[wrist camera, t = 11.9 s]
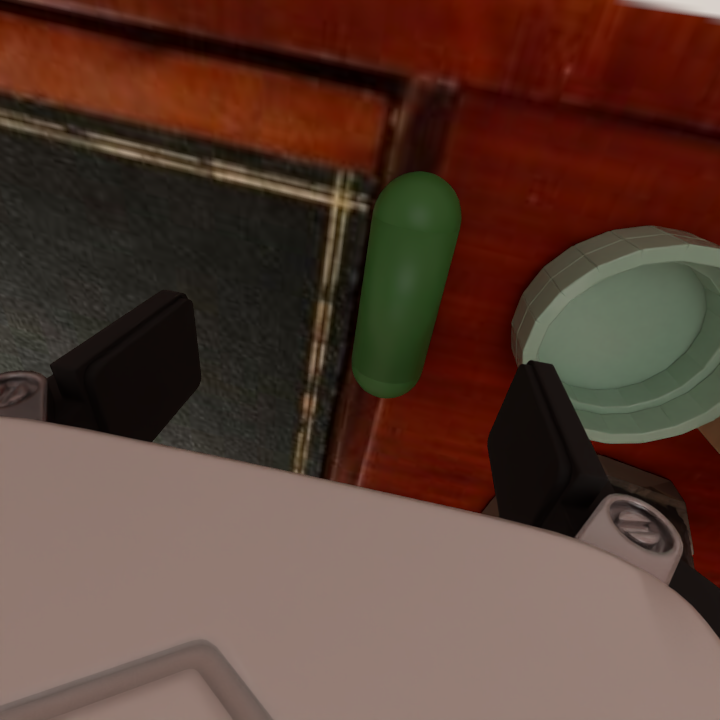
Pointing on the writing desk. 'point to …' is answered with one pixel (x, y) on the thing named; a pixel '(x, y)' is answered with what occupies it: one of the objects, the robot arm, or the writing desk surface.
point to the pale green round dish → (629, 331)
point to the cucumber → (404, 281)
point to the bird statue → (642, 498)
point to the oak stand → (712, 433)
